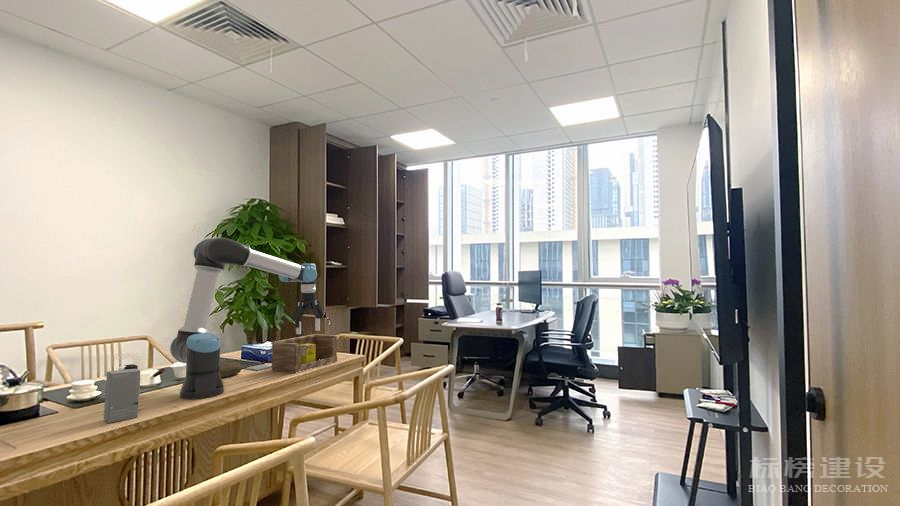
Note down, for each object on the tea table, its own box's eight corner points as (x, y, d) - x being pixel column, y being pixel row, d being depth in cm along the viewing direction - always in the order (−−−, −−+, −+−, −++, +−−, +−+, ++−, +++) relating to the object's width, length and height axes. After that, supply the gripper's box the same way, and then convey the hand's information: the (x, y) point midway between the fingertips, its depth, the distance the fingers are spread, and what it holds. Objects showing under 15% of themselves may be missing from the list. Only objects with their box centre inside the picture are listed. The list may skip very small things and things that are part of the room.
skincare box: (107, 424, 131) (109, 374, 132) (102, 419, 136) (104, 370, 137) (139, 417, 138) (141, 369, 139) (134, 412, 142) (136, 366, 143)
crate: (294, 373, 198) (295, 344, 199) (270, 370, 205) (271, 342, 206) (338, 361, 226) (338, 335, 227) (315, 358, 233) (315, 333, 234)
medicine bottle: (136, 392, 167) (138, 362, 168) (139, 395, 162) (140, 365, 163) (114, 395, 162) (115, 365, 163) (116, 399, 157) (117, 368, 158)
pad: (257, 370, 204) (257, 369, 204) (245, 369, 208) (245, 368, 208) (272, 367, 212) (272, 366, 212) (260, 365, 216) (260, 364, 216)
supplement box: (315, 364, 218) (315, 344, 218) (306, 367, 212) (306, 345, 213) (308, 363, 221) (308, 343, 221) (298, 365, 216) (299, 344, 216)
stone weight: (214, 381, 184) (214, 366, 184) (203, 380, 186) (204, 365, 187) (242, 374, 197) (243, 360, 198) (232, 373, 200) (232, 359, 200)
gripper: (295, 293, 206) (295, 336, 205) (330, 291, 228) (330, 329, 227) (284, 293, 209) (284, 335, 208) (319, 291, 232) (319, 328, 231)
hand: (308, 332), depth 218 cm, fingers open, 13 cm apart
